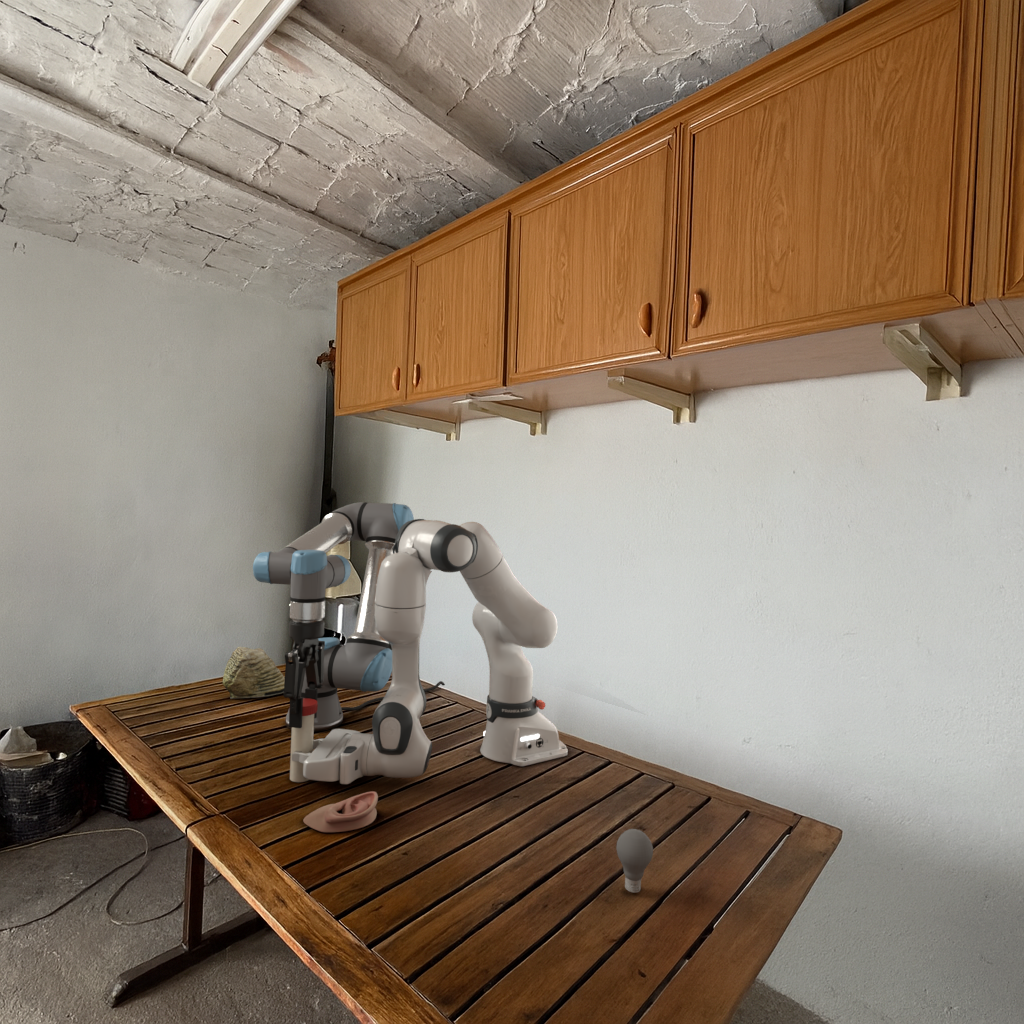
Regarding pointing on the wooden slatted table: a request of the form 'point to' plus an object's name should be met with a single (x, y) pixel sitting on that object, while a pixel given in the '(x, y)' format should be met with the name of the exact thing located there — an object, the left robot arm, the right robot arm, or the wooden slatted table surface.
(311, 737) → the white cylindrical bottle
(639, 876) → the light bulb
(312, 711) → the lid
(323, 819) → the anatomical model
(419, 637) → the right robot arm
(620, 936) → the wooden slatted table surface
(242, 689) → the fossil
